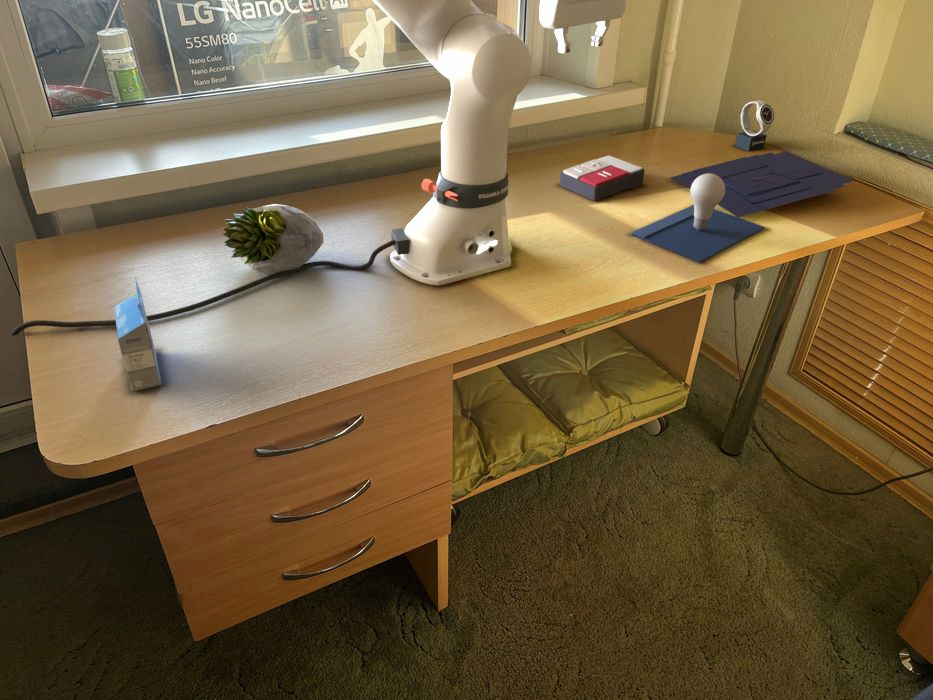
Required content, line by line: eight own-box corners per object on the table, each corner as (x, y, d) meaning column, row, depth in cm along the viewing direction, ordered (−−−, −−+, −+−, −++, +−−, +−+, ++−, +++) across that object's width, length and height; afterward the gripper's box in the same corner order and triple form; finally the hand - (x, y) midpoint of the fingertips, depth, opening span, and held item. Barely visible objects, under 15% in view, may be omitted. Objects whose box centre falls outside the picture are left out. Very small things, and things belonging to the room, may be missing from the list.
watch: (754, 153, 173) (765, 107, 167) (729, 144, 179) (739, 99, 173) (770, 149, 176) (781, 104, 169) (744, 140, 181) (754, 96, 175)
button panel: (559, 169, 152) (608, 152, 160) (558, 188, 155) (607, 170, 162) (596, 184, 145) (646, 166, 152) (594, 204, 148) (643, 185, 155)
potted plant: (335, 254, 119) (258, 261, 108) (296, 282, 128) (220, 291, 117) (312, 187, 120) (233, 188, 109) (274, 220, 129) (197, 223, 118)
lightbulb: (717, 238, 132) (730, 181, 126) (683, 235, 133) (694, 179, 127) (714, 224, 137) (726, 169, 131) (682, 222, 138) (692, 167, 132)
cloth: (699, 263, 125) (700, 259, 125) (631, 235, 134) (632, 231, 134) (764, 228, 137) (765, 225, 137) (698, 205, 146) (698, 202, 146)
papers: (859, 196, 147) (863, 179, 145) (737, 230, 141) (739, 213, 138) (779, 160, 166) (781, 144, 164) (668, 188, 160) (669, 173, 157)
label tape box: (127, 357, 100) (102, 280, 93) (158, 351, 101) (136, 274, 94) (131, 392, 93) (105, 312, 86) (164, 385, 94) (141, 305, 87)
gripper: (611, -40, 133) (603, 39, 141) (536, -32, 122) (531, 53, 130) (638, -37, 129) (628, 44, 137) (563, -28, 118) (556, 59, 126)
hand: (580, 49), depth 133 cm, fingers open, 8 cm apart
